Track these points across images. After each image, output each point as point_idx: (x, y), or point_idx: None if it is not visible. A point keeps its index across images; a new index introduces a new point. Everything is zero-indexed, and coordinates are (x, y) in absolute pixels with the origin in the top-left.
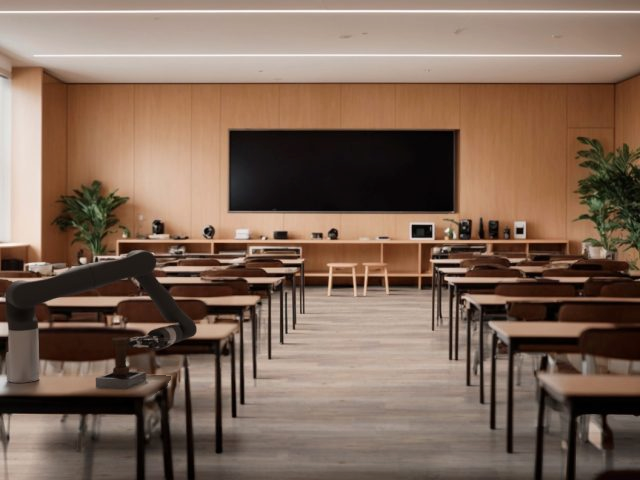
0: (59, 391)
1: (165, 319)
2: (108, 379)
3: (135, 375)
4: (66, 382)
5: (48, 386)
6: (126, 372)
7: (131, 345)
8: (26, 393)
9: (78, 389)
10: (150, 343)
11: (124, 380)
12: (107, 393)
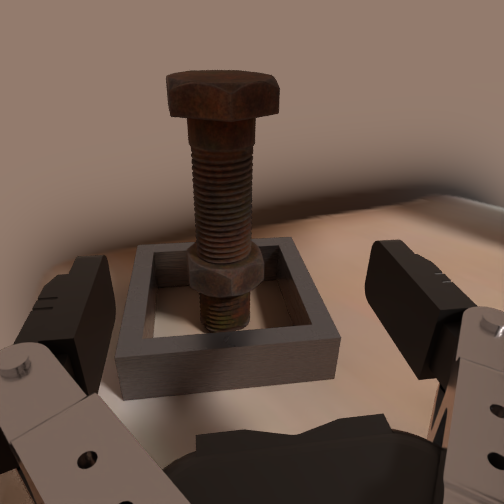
0: (352, 225)
1: None
2: None
3: (140, 292)
4: (472, 285)
5: (453, 245)
6: (188, 271)
7: (400, 326)
8: (410, 203)
9: (321, 246)
10: (79, 258)
11: (153, 247)
12: (186, 240)
